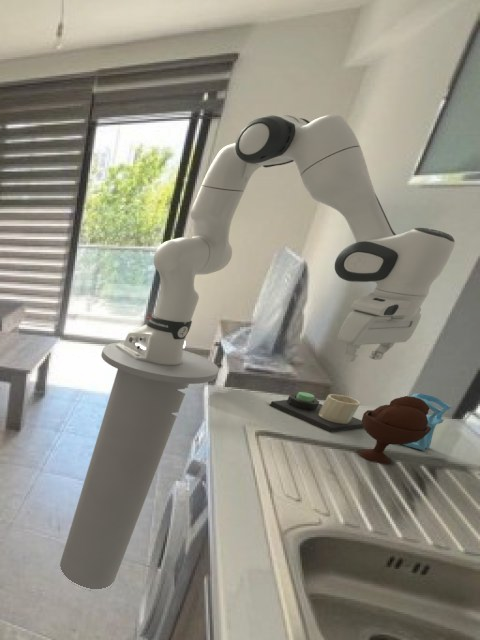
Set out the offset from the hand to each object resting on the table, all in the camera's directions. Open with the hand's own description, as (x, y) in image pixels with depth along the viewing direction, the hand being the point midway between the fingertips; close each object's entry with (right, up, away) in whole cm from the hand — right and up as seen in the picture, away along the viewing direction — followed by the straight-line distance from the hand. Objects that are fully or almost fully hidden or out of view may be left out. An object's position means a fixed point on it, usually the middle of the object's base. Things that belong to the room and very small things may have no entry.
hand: (361, 359), depth 119 cm
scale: (-2, -14, +10) cm, 17 cm away
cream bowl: (-1, -14, +7) cm, 16 cm away
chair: (+9, -21, -1) cm, 23 cm away
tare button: (-3, -9, +13) cm, 16 cm away
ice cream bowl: (-6, -24, -9) cm, 26 cm away
